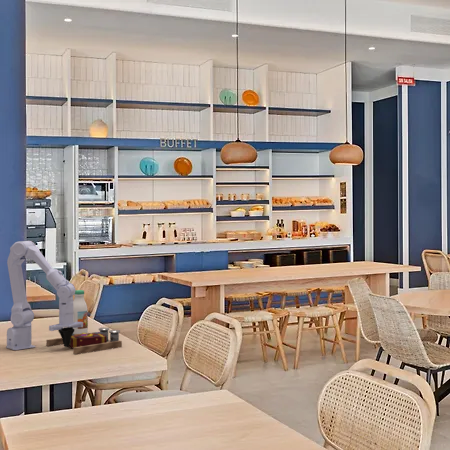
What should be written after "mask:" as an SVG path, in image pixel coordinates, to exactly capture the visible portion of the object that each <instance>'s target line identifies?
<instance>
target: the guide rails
mask: <svg viewBox="0 0 450 450" xmlns="http://www.w3.org/2000/svg"><path fill="white" fill-rule="evenodd" d="M122 343H123V341H122V340H119V341H113V342H110V341H108V342H107V343H100V344H94V345H87V346H81V347H74V348H72V349H73V351H72V354H73V355H80V354H81V353H82V354H87V352H88V353H93V351H94V352H100V351H106V350H112V348H113V349H118V347H119V348H122V347H123V344H122ZM60 344H61V345H64V344H63V340H62V337H58V338H51V339H46V346H47V347H54V346H61V345H60ZM53 345H54V346H53Z"/></svg>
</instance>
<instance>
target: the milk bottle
mask: <svg viewBox="0 0 450 450" xmlns="http://www.w3.org/2000/svg"><path fill="white" fill-rule="evenodd" d="M75 290H76V289H75ZM73 296H74V297H73V322H83V327H76V328H73V329H74V333H73V334H82V333H89V332H88V330H89V328H88V327H89V325H88V324H89V320H88V319H89V317H88V315H89V313H88V310H89V309H88V305H87V303H86V300H85V290H83V289H77V290H76V291H75V294H74V295H73Z"/></svg>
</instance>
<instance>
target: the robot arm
mask: <svg viewBox="0 0 450 450" xmlns="http://www.w3.org/2000/svg"><path fill="white" fill-rule="evenodd" d="M9 251H10V252H9V255H8V257H7V261H6V262H7V269H8V276H9V283H10V289H11V296H12V302H13V305H12V307H11V308H10V309H11V310H10V311H11V315H10V322H11V324H12V325H13V326H11V327H9V328H7V329H6V346H5V347H6V349H10V350H12V351H19V350H27V349H33V348H36V345H33V344H32V337H33V336H32V334H33V333H32V324H33V323H32V322H33V321H34V319H35V313H34V311H33V310H32V308H31V307H32V306H31V304H30V303H29V301H28V299H27V293H26V286H25V279H24V274H23V272H24V271H23V269H22V268H23V267H22V264H23V263H24V262H25V260H26V259H29V260H33V261H34V263H36V265H37V266H39V268H40V269H41V270H42V271H43V272H44V273H45V274H46V276H45V277H46V278H45V279H46V280H47V281H48V282H49V283H50V284H51V286H52V287H53V288H54V289H55V290H56V296H57V297H58V301H59V302H58V303H59V304H58V311H59V312H58V313H59V314H58V323H57V324H51V325H49V326H48V331H49V332H54V331H57V332H58V333H59V334H60V338H62V340H63V344H62V345H63V346H64V348H65V347H66V348H67V347H69V343H70V339H71V337H72V334H73V333H74V329H73V328H76V327H83V322H73V301H74V296H75V295H74V294H75V291H76V287H75V286H74V283H72V282H70V281H69V280H68V279H67V278H65V276H63V272H62V271H61V270H58V269H56V268H53V267H52V266H51V264H50V263H49V261H48V260H47V258H46V257H45V256H44V255H43V253H42V252H41V251H40V248H39V247H38V246H37V245H36V244H35V243H34V242H33V241H31V240H25V241H24V240H23V241H16V242H14V243H13V244H12V245H11V246H10V247H9ZM69 348H70V347H69Z"/></svg>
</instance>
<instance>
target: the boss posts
mask: <svg viewBox="0 0 450 450" xmlns="http://www.w3.org/2000/svg"><path fill="white" fill-rule="evenodd" d="M98 331H99V332H102V333H103V335H105V336H106V337H107V342H113V341H120V332H121V330H119V329H110V327H106V326H105V327H99V328H98ZM109 333H110V334H109ZM109 335H110V336H109Z"/></svg>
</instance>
